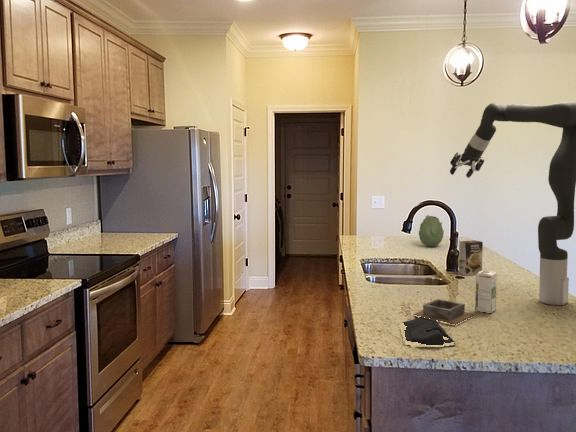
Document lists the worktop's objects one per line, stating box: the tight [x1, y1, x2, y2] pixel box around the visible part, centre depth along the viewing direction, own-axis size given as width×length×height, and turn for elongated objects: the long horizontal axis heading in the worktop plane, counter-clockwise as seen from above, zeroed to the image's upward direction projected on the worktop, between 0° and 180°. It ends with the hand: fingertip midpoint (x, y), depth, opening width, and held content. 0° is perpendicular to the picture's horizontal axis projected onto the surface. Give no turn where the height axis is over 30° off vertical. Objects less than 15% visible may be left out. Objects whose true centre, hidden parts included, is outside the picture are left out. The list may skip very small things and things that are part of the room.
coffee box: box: [458, 239, 484, 277], centre depth 238 cm, size 9×6×16 cm
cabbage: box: [418, 215, 445, 248], centre depth 316 cm, size 16×19×20 cm
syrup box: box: [474, 270, 498, 314], centre depth 180 cm, size 6×6×14 cm
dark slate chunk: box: [402, 317, 455, 345], centre depth 158 cm, size 15×22×5 cm
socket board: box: [413, 298, 476, 325], centre depth 175 cm, size 16×14×4 cm
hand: (459, 175), depth 225 cm, fingers open, 8 cm apart
